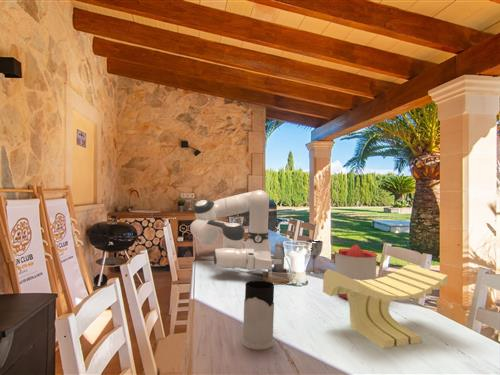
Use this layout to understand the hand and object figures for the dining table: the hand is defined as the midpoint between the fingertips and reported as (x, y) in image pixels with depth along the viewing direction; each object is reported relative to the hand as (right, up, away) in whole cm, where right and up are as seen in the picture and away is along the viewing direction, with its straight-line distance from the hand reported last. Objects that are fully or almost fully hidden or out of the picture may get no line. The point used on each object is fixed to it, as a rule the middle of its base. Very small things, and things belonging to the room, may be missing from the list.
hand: (281, 260), depth 147 cm
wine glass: (+18, -10, +18) cm, 27 cm away
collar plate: (-1, -9, 0) cm, 9 cm away
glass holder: (-11, -9, -57) cm, 58 cm away
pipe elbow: (0, -7, 0) cm, 7 cm away
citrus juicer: (+25, -10, -19) cm, 33 cm away
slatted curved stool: (+24, -10, -51) cm, 57 cm away
